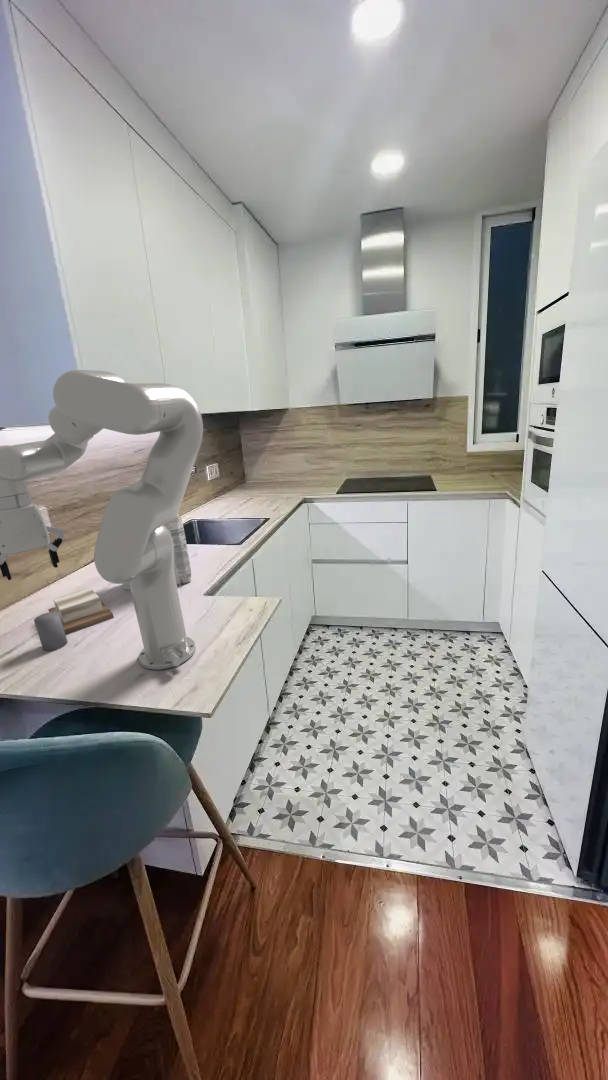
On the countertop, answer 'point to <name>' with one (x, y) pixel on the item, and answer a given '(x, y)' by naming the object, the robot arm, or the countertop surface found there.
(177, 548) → the juice carton
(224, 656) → the countertop surface
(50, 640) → the charcoal cylinder
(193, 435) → the robot arm
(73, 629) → the plinth base
